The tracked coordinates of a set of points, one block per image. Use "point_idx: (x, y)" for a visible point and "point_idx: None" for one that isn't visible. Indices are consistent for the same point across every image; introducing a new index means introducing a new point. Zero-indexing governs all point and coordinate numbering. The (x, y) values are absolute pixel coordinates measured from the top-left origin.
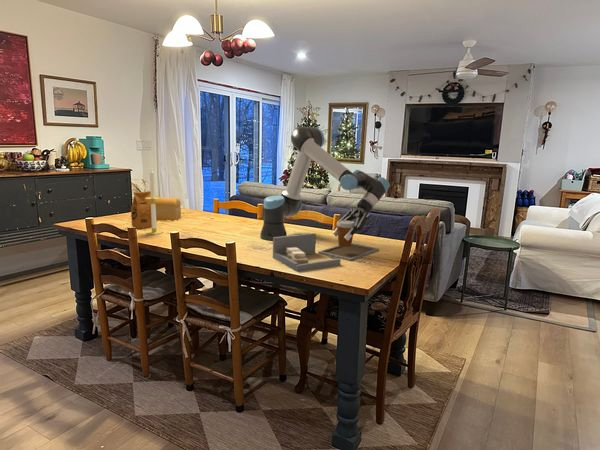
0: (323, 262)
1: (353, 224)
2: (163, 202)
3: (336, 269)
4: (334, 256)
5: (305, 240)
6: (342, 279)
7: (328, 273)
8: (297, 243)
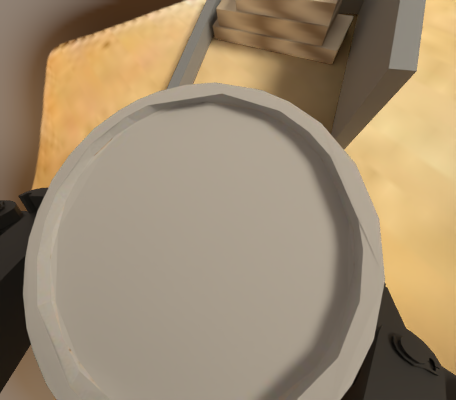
0: (184, 52)
1: (50, 235)
2: None
3: (153, 83)
4: None
5: (373, 44)
6: (106, 49)
7: (152, 50)
8: (373, 20)
